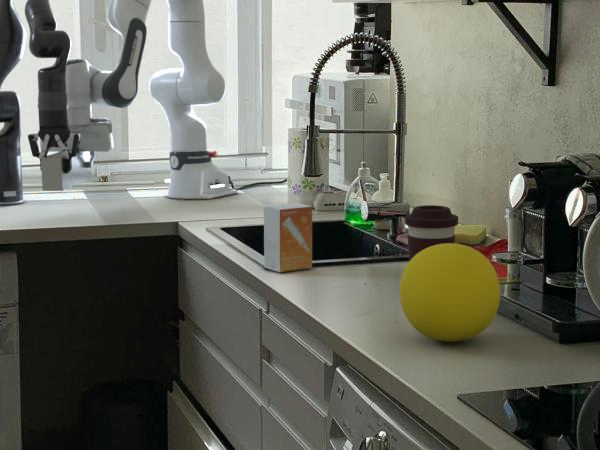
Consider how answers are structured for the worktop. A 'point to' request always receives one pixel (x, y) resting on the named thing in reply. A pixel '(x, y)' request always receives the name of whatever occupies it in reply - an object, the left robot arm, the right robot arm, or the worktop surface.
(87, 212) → the worktop surface
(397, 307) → the worktop surface
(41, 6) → the left robot arm
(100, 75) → the right robot arm
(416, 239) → the coffee cup
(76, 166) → the bar
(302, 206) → the small box
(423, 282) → the toy
